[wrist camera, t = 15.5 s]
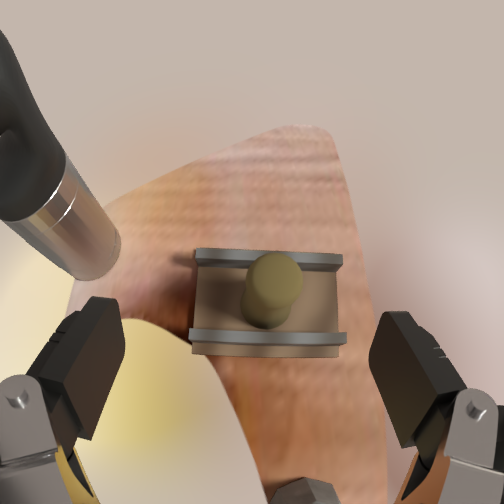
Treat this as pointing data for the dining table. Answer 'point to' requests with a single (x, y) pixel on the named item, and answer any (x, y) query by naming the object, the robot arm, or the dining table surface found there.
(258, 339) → the walnut track
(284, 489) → the coffeepot
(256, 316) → the olive waisted cylinder
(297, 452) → the dining table surface
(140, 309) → the dining table surface
